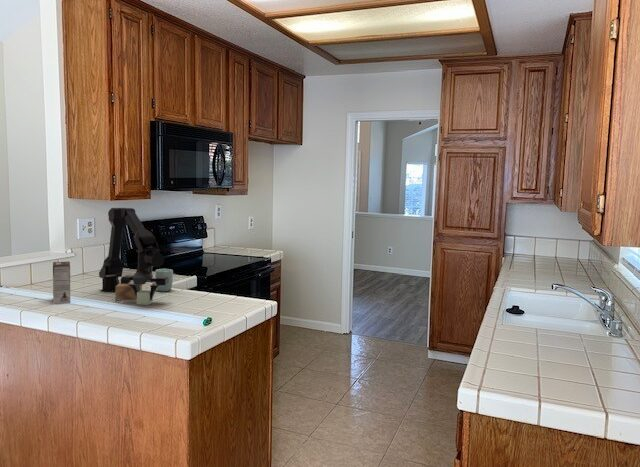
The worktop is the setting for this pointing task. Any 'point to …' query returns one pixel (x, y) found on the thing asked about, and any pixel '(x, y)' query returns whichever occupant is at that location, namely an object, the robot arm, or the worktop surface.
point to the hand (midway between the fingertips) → (144, 300)
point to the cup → (165, 273)
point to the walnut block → (125, 292)
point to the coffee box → (61, 282)
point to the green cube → (144, 297)
